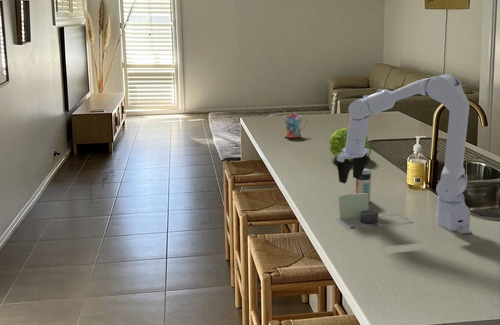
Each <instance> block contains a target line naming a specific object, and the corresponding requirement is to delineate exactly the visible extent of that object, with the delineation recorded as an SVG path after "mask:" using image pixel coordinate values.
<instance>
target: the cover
mask: <svg viewBox="0 0 500 325" xmlns="http://www.w3.org/2000/svg"><path fill="white" fill-rule="evenodd" d="M368 210H369V211H370V209H369V203H368V193H361V194H356V193H352V194H339V195H338V211H339V212H338V214H339V219H348V218H359V217H361V212H362V211H368Z"/></svg>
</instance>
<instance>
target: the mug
mask: <svg viewBox="0 0 500 325" xmlns="http://www.w3.org/2000/svg"><path fill="white" fill-rule="evenodd" d="M283 119H284V122H285V133H284V137H285V138H288V139H297V138H300V137H301V136H302V134H301V132H302V129H304V128H305V127H306V126H307V124H308V119H307V118H303V116H302V114H301V115H300V114H285V115H283ZM303 120H306V122H305V125H304V126H302V127H301V128H300V125H301V123H302V121H303Z"/></svg>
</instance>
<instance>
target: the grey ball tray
mask: <svg viewBox="0 0 500 325" xmlns="http://www.w3.org/2000/svg"><path fill="white" fill-rule="evenodd" d="M389 216H390V217H391V216H400V217H401V218H403V219H404V220H405V221H408V222H399V223H389V224H388V223H387V224H381V223H380V222H379V221H378V222H377V223H375V224H365V223H362V222H361V221H360V220H361V217H358V218H347V219H340V218H339V219H338V218H337V219H336V222H338V223H339V224H340V225H341V226H343V227H344V228H345V229H346V230H353V229H354V230H356V229H367V228H374V227H375V228H377V227H386V226H397V225H398V226H399V225H407V224H414V222H413V221H412V220H410V219H408V218H407V217H406V216H404V215H403V214H401V213H393V214H382V215H381V214H380V215H378V218H380V217H389Z"/></svg>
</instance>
